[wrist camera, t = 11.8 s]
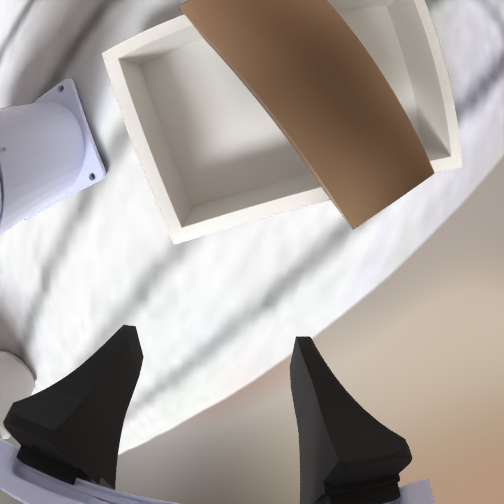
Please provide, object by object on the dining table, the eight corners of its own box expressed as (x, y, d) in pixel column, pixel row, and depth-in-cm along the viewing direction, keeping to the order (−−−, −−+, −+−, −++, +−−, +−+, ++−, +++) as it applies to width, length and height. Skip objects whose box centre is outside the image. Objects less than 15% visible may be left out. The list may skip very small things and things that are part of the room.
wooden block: (324, 191, 15) (353, 229, 11) (202, 37, 11) (179, 7, 7) (384, 150, 14) (435, 173, 10) (269, -6, 10) (276, -50, 6)
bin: (188, 218, 20) (174, 244, 17) (129, 61, 15) (101, 53, 11) (430, 154, 18) (462, 167, 14) (389, -2, 13) (416, -19, 9)
